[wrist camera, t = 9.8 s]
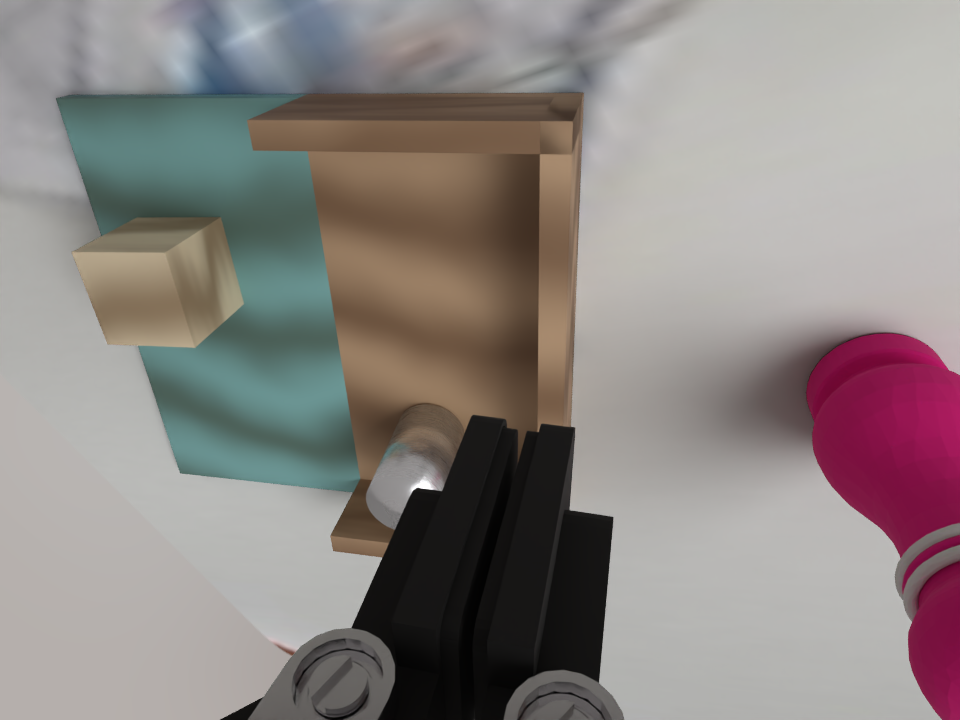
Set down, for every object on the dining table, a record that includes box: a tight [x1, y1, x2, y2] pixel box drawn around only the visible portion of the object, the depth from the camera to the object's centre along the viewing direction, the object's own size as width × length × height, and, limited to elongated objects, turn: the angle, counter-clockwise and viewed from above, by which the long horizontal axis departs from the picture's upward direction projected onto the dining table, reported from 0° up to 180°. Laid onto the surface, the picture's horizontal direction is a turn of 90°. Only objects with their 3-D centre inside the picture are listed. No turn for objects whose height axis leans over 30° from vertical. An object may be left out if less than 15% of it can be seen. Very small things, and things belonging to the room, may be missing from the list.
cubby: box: [56, 93, 584, 557], centre depth 36 cm, size 24×26×6 cm
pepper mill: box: [806, 333, 960, 720], centre depth 26 cm, size 7×7×20 cm
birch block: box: [72, 217, 244, 348], centre depth 35 cm, size 5×5×5 cm
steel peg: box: [366, 404, 465, 530], centre depth 37 cm, size 4×4×6 cm
